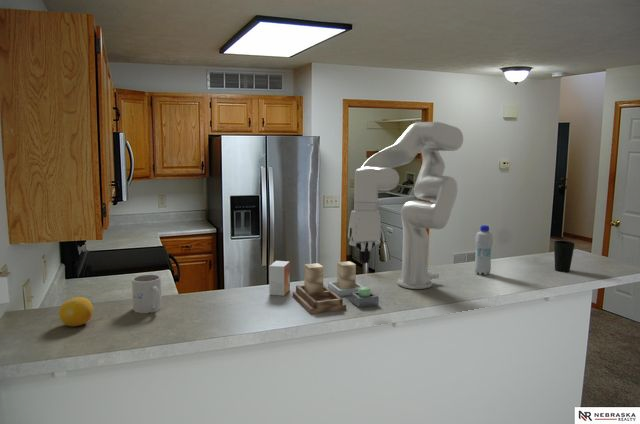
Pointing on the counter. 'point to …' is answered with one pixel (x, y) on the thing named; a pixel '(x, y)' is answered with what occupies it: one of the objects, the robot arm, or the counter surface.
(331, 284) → the grey square frame
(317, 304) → the brown wooden tray
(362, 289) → the button
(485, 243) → the bottle
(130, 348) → the counter surface
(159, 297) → the mug
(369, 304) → the switch box
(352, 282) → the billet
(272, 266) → the small box
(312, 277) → the block
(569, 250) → the cup
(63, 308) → the fruit
